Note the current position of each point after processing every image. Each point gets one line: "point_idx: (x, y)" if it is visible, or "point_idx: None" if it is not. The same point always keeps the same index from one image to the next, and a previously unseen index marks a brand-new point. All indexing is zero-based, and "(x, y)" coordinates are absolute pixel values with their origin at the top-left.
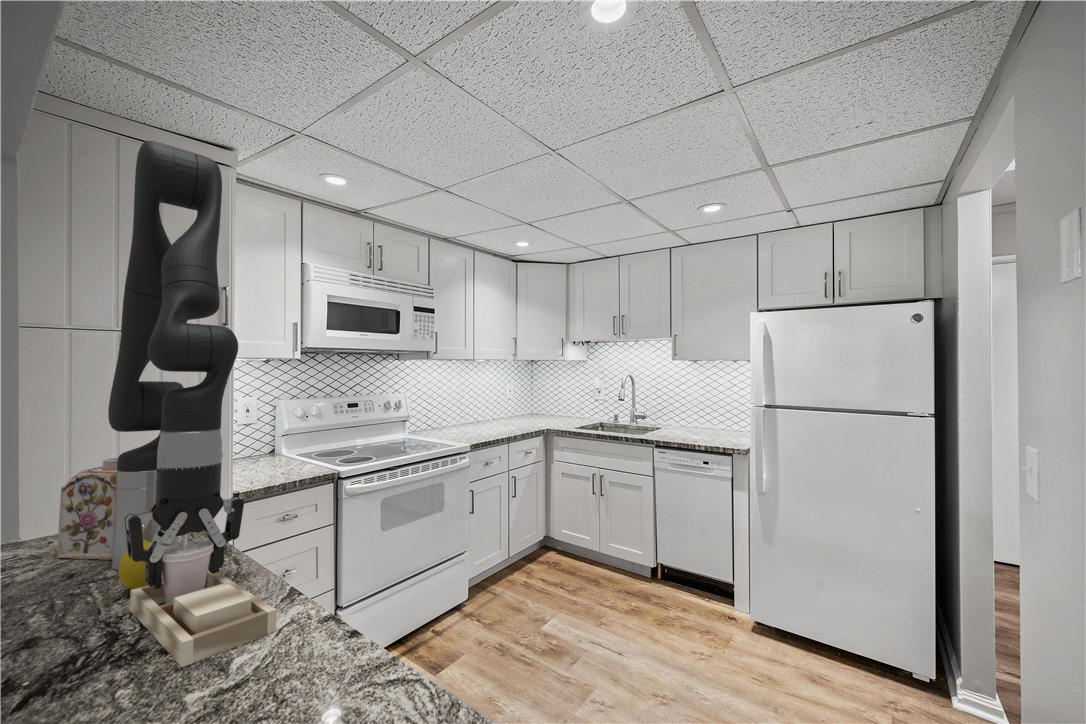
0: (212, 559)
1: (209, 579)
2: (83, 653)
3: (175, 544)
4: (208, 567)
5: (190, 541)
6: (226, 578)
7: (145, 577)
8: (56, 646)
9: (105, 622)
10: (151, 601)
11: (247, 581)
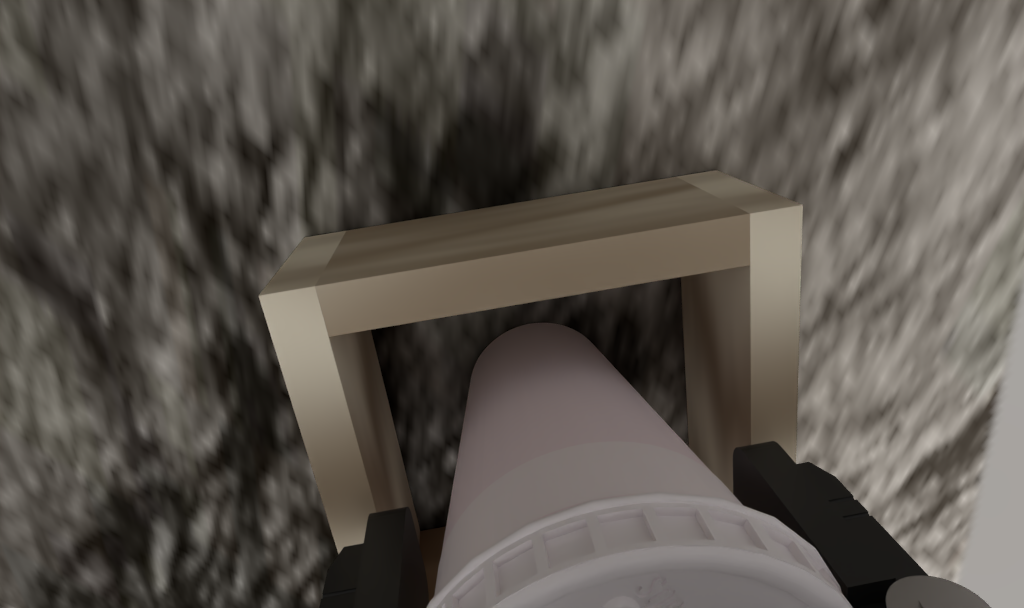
0: None
1: (730, 293)
2: (157, 501)
3: (575, 594)
4: (744, 451)
5: (731, 578)
6: None
7: (325, 597)
8: (16, 356)
9: (189, 192)
10: None
11: (938, 86)
